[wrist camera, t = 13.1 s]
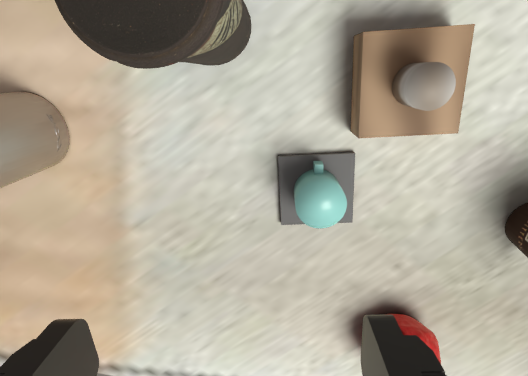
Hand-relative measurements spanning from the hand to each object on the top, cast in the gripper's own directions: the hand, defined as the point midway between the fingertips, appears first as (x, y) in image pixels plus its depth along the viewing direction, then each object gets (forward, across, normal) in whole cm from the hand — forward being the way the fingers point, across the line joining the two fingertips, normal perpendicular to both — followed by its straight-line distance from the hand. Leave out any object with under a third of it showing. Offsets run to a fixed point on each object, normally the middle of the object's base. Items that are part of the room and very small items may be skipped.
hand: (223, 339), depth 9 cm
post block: (+30, -15, -5) cm, 34 cm away
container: (+30, +5, -12) cm, 33 cm away
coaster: (+30, -6, +7) cm, 31 cm away
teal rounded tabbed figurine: (+30, -6, +7) cm, 31 cm away
